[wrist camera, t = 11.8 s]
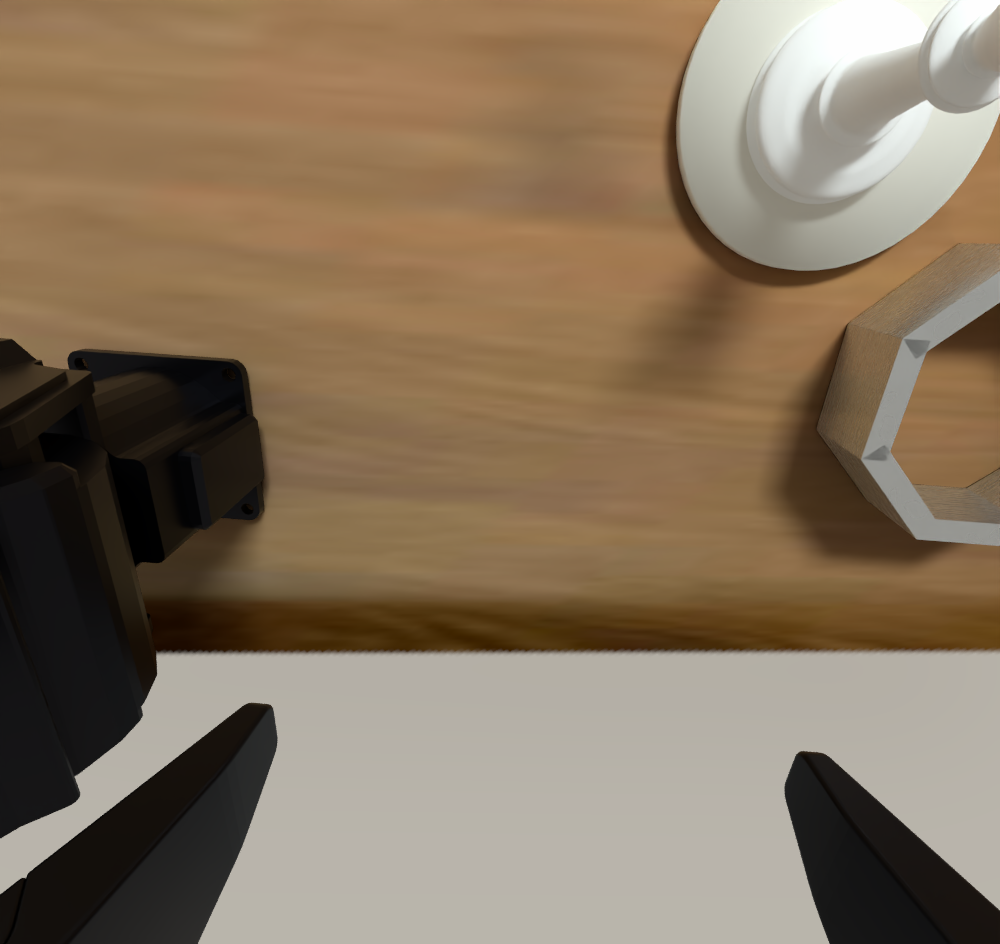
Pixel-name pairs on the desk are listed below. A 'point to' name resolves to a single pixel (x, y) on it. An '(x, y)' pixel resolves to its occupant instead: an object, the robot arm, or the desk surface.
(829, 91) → the chess piece
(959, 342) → the desk surface
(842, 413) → the ring collar
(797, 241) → the felt pad
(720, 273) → the desk surface
